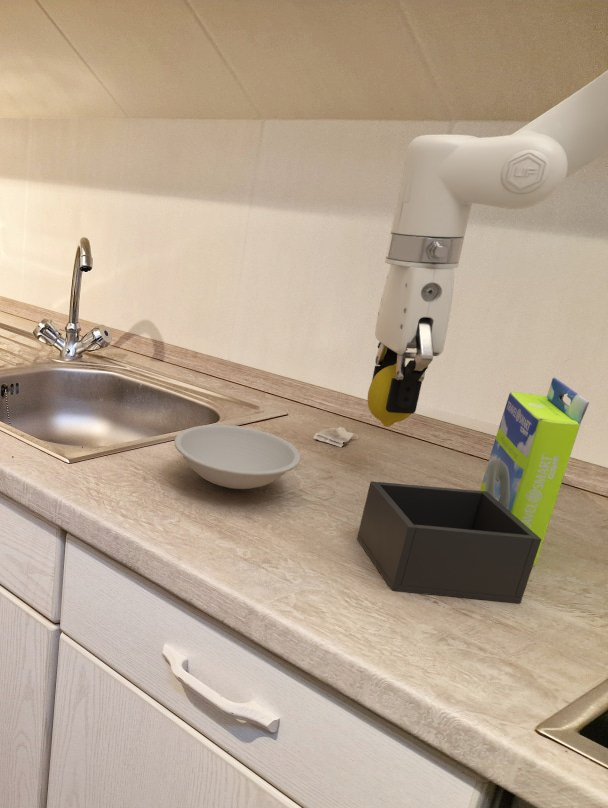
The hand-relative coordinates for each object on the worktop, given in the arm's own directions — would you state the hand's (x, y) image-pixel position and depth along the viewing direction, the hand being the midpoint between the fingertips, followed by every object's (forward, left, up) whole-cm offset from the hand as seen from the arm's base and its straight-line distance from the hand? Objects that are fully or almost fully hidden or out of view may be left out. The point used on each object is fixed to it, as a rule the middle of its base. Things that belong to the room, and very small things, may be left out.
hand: (391, 403), depth 103 cm
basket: (+2, +25, -10) cm, 27 cm away
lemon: (0, 0, -3) cm, 3 cm away
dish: (+19, +7, -10) cm, 22 cm away
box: (-8, +17, -10) cm, 21 cm away
